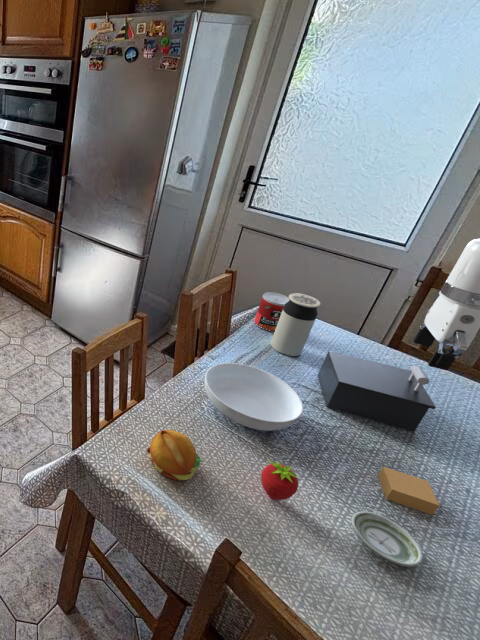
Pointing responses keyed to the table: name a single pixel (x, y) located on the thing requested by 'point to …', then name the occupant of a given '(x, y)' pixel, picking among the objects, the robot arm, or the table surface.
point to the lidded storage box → (368, 402)
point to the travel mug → (295, 324)
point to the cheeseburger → (174, 455)
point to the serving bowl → (252, 396)
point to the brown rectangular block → (408, 490)
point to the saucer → (386, 539)
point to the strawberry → (279, 481)
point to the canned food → (270, 310)
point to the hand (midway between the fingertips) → (429, 355)
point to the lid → (382, 379)
